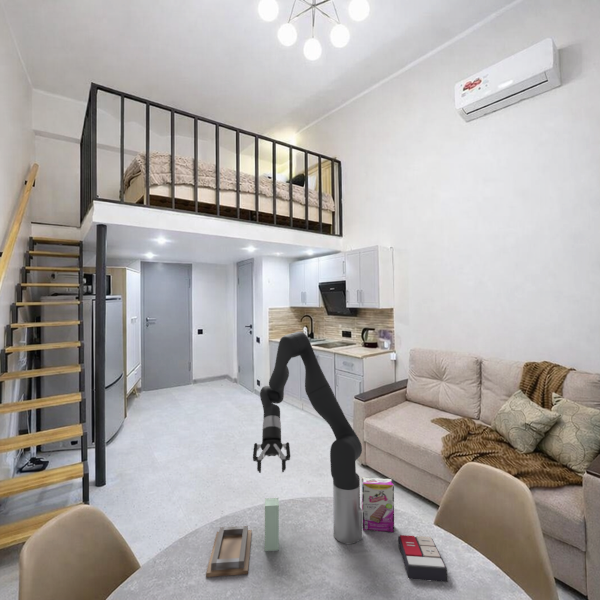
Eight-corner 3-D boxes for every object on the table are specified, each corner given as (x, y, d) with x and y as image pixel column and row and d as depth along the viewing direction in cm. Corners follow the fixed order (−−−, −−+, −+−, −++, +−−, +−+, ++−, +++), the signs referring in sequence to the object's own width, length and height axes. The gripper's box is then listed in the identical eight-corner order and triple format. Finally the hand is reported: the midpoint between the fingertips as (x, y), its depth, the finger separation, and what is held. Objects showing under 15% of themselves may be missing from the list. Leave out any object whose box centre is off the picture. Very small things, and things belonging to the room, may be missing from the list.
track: (251, 532, 115) (251, 523, 115) (247, 574, 96) (247, 563, 96) (216, 534, 113) (216, 525, 114) (205, 577, 95) (206, 566, 95)
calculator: (432, 535, 108) (447, 566, 93) (432, 549, 107) (448, 582, 92) (397, 533, 109) (407, 563, 94) (398, 547, 108) (408, 579, 94)
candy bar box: (362, 531, 115) (362, 483, 116) (361, 522, 120) (360, 476, 121) (395, 533, 114) (394, 484, 115) (392, 524, 119) (391, 478, 120)
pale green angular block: (278, 541, 110) (278, 497, 111) (278, 550, 106) (278, 505, 107) (264, 541, 110) (265, 498, 111) (264, 551, 105) (264, 506, 106)
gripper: (254, 425, 130) (251, 468, 118) (289, 425, 131) (291, 467, 119) (254, 434, 135) (252, 476, 123) (288, 434, 136) (290, 475, 124)
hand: (271, 471), depth 121 cm, fingers open, 8 cm apart
